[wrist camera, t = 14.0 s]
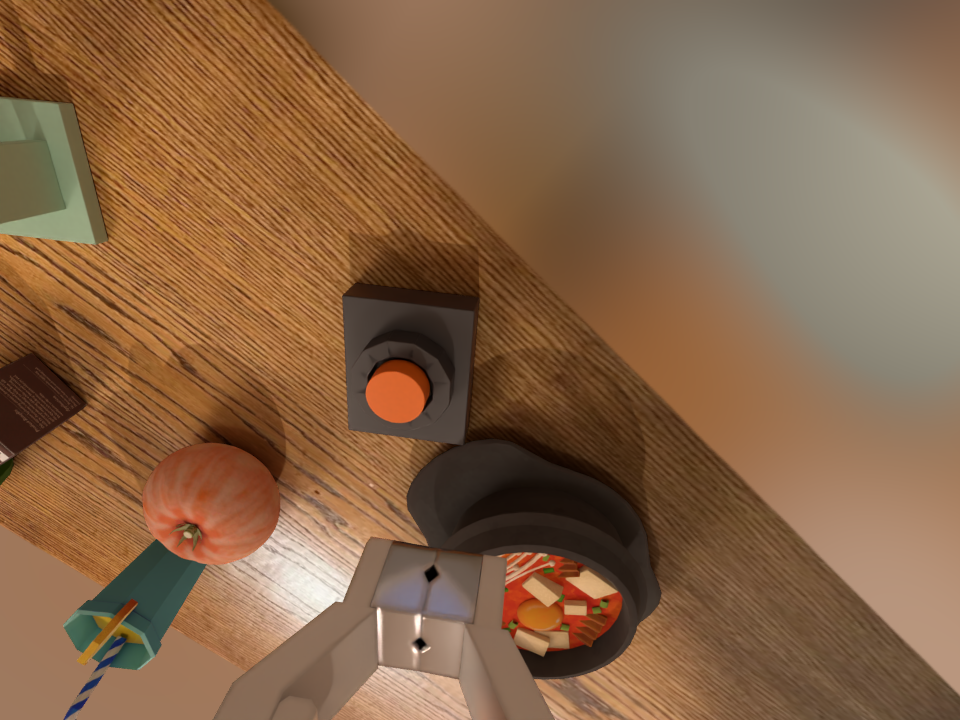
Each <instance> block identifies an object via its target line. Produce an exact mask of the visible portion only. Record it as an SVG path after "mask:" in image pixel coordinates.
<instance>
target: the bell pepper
mask: <svg viewBox="0 0 960 720" xmlns="http://www.w3.org/2000/svg"><path fill="white" fill-rule="evenodd" d="M13 466H14V462H13V458H11V459H10V460H8V461H7V462H5V463H3V464H2V465H0V485H1V484H2V483H3V482H4V481H5V479H6V478H7V477H8V476H9V475H10V473H11V471H12V468H13Z"/></svg>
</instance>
